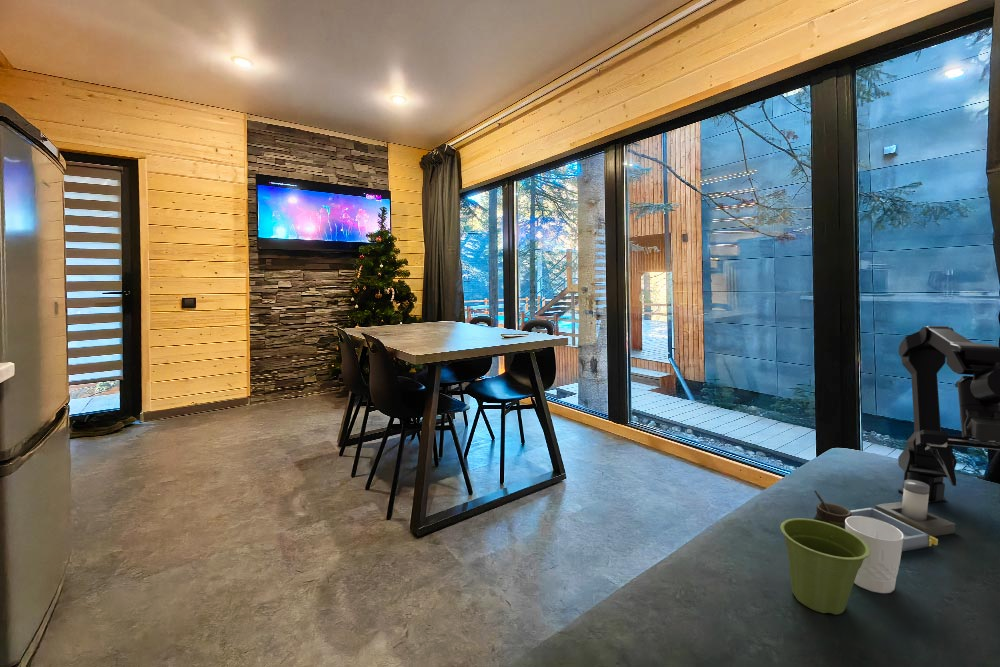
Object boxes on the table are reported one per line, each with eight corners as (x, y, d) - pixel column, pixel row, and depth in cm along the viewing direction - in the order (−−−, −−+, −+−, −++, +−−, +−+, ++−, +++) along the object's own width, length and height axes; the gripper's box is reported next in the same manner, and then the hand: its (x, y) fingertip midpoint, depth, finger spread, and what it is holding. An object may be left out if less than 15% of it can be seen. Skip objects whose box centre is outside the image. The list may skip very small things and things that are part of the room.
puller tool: (881, 522, 97) (882, 517, 96) (889, 521, 97) (890, 516, 97) (929, 546, 88) (929, 540, 88) (937, 544, 88) (938, 539, 88)
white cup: (849, 589, 76) (854, 534, 75) (834, 562, 83) (838, 512, 82) (907, 601, 73) (913, 544, 72) (887, 572, 80) (891, 520, 79)
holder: (874, 513, 101) (875, 505, 100) (902, 509, 102) (903, 501, 102) (924, 537, 91) (925, 528, 91) (954, 532, 92) (955, 523, 92)
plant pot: (870, 639, 65) (877, 568, 64) (776, 608, 72) (780, 543, 70) (858, 591, 75) (863, 529, 74) (776, 568, 82) (780, 511, 80)
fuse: (895, 519, 98) (899, 480, 97) (909, 517, 99) (913, 478, 98) (916, 528, 94) (920, 488, 93) (930, 526, 95) (934, 486, 94)
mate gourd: (842, 562, 83) (845, 511, 82) (800, 542, 90) (802, 495, 89) (862, 550, 87) (865, 502, 86) (819, 532, 93) (822, 487, 92)
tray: (837, 523, 97) (837, 512, 96) (870, 518, 99) (871, 507, 98) (891, 553, 86) (892, 541, 86) (928, 546, 88) (929, 535, 87)
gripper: (922, 397, 85) (928, 480, 82) (1073, 405, 75) (1088, 501, 71) (913, 405, 94) (918, 481, 90) (1047, 414, 83) (1059, 500, 80)
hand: (988, 490), depth 83 cm, fingers open, 9 cm apart
